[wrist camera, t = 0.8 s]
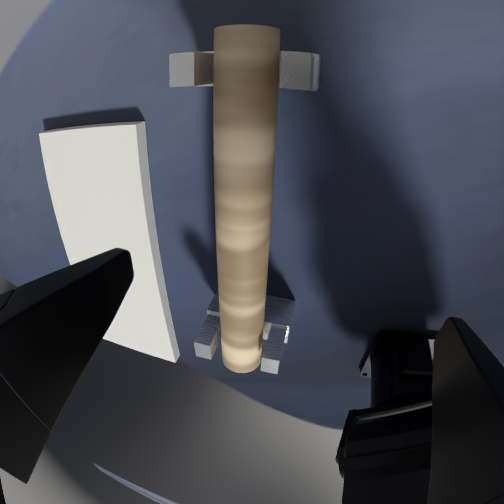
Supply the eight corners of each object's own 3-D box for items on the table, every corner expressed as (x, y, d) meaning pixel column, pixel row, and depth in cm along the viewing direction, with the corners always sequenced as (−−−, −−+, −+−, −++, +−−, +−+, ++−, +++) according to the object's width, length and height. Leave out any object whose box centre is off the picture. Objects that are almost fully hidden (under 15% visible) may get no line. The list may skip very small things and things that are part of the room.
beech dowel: (264, 347, 24) (256, 376, 22) (228, 339, 25) (217, 367, 23) (285, 33, 12) (274, 24, 10) (226, 33, 13) (203, 26, 10)
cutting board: (179, 354, 33) (175, 362, 33) (103, 330, 36) (98, 336, 35) (145, 121, 20) (135, 124, 19) (48, 129, 22) (39, 133, 21)
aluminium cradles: (292, 317, 26) (278, 375, 21) (220, 303, 27) (194, 356, 22) (320, 57, 15) (315, 48, 10) (215, 53, 16) (166, 50, 11)
